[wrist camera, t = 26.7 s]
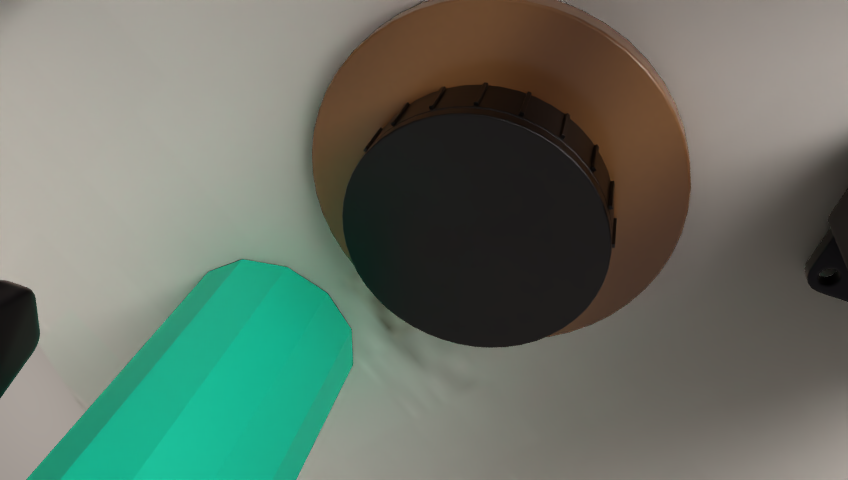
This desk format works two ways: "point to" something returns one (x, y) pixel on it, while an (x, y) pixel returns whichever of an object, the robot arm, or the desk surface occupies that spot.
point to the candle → (218, 386)
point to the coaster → (547, 80)
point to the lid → (481, 216)
